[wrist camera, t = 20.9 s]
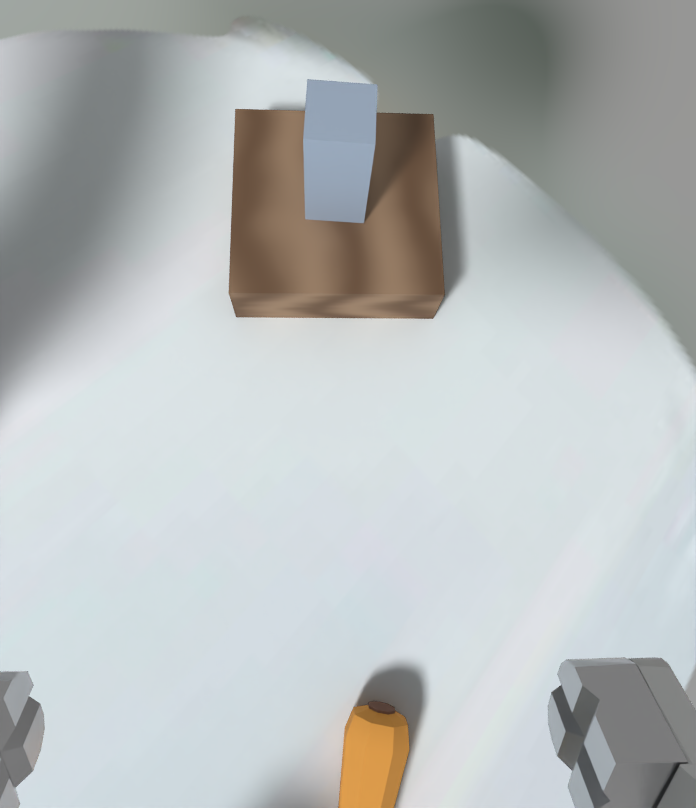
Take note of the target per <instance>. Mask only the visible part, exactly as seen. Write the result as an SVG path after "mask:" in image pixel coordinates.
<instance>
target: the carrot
mask: <svg viewBox="0 0 696 808" xmlns="http://www.w3.org/2000/svg"><path fill="white" fill-rule="evenodd" d="M408 753H409V734H408V724H407V721H406V718H405V717H404V716H403V715H401V714H400V713H398V712H397V711H395V708H394V707H393V706H391V705H389V704H387V703H383V702H378V701H373V702H369V703H368V705H364V706H357V707H353V710H352V712H351V714H350V717H349V719H348V721H347V724H346V726H345V732H344V744H343V757H342V769H341V781H340V793H339V806H338V808H394V805H395V802H396V798H397V794H398V790H399V787H400V783H401V779H402V776H403V772H404V768H405V764H406V761H407V757H408Z"/></svg>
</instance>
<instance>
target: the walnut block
mask: <svg viewBox="0 0 696 808" xmlns="http://www.w3.org/2000/svg"><path fill="white" fill-rule="evenodd" d="M304 121H305V111H290V110H253V109H235V135H234V163H233V191H232V218H231V246H230V273H229V295H230V298H231V302H232V305H233V308H234V311H235V315H236V317H279V318H418V319H433V318H434V316H435V314H436V312H437V310H438V308H439V306H440V303H441V301H442V299H443V297H444V295H445V290H444V275H443V259H442V243H441V227H440V211H439V195H438V180H437V164H436V148H435V134H434V133H435V132H434V116H433V114H403V113H401V114H400V113H376V142H375V150H374V157H373V164H372V171H371V178H370V185H369V191H368V198H367V205H366V212H365V219H364V223H353V222H338V221H323V220H308V219H305V194H304V152H303V135H304Z"/></svg>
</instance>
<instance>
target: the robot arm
mask: <svg viewBox="0 0 696 808" xmlns="http://www.w3.org/2000/svg"><path fill="white" fill-rule="evenodd" d="M557 675H558V677H559V680H560V683H561V686H559V687H558V688H557V689H555V690H554V691H553V692H551V696H550V700H549V704H548V725H549V729H550V734H551V739H552V742H553V745H554V748H555V751H556V754H557V756H558V757H559V758H560V759H561V760H562V761H563V762H564V763H565V764H566V765H567V766H568V767H569V768H570V769H571V770H572V773H571V777H570V780H569V783H568V789H569V792H570V795H571V798H572V800H573V803H574V806H575V808H696V710H695V708H694V707H693V705H692V703H691V701H690V700H689V698H688V696H687V695H686V693H685V691H684V690H683V688H682V686H681V684H680V683H679V681H678V679H677V678H676V676H675V674H674V673H673V671H672V669H671V667H670V666H669V664H668V663H667V662H665V661H664V660H663V659H662V658H656V657H652V658H629V659H627V658H625V657H622V658H595V659H568V660H565V661H564V662H562V663H561V665H560V668H559V671H558V674H557ZM33 686H34V685H33V682H32V680H31V678H30V675H29V673H28V671H0V808H19V805H20V802H19V798H18V795H17V791H16V787H17V786H18V785H19V784H20V783H21V782H22V781H23V780H24V779H25V778H26V777H27V776H28V775H29V774H30V773H31V772H32V771H33V770H34V767H35V764H36V761H37V759H38V756H39V753H40V751H41V746H42V740H43V735H44V729H45V727H44V713H43V710H42V707H41V704H40V703H38V702H37V701H35V700H34V699H32V698H31V697H29V695H30V692H31V690H32V688H33Z"/></svg>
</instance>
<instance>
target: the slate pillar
mask: <svg viewBox="0 0 696 808" xmlns="http://www.w3.org/2000/svg"><path fill="white" fill-rule="evenodd" d="M376 112H377V85H376V84H363V83H349V82H336V81H323V80H310V79H307V92H306V107H305V121H304V135H303V152H304V194H305V219H308V220H323V221H338V222H353V223H364V219H365V212H366V205H367V198H368V191H369V185H370V178H371V171H372V164H373V157H374V150H375V142H376Z"/></svg>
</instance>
